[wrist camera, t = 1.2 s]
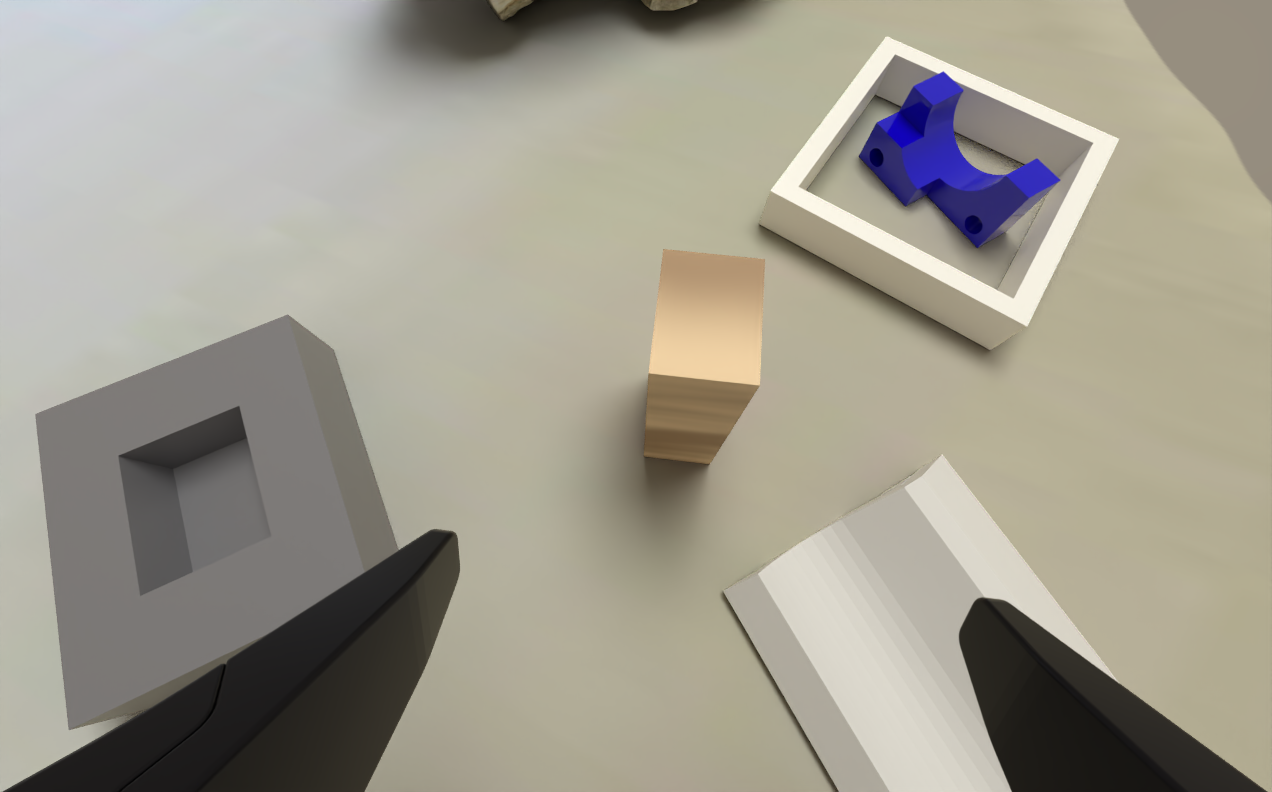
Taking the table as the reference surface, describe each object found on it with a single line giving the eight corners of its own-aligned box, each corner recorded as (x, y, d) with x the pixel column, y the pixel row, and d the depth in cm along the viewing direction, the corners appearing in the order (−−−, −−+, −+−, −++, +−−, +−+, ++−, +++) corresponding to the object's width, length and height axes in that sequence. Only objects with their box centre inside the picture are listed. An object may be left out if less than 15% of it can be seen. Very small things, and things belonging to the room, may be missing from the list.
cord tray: (990, 350, 25) (1027, 326, 23) (758, 224, 28) (770, 190, 25) (1079, 175, 29) (1119, 139, 26) (867, 77, 31) (886, 36, 29)
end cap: (409, 584, 22) (368, 585, 18) (161, 705, 20) (68, 730, 17) (333, 349, 25) (287, 314, 22) (118, 437, 24) (35, 413, 20)
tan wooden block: (709, 464, 23) (759, 385, 14) (643, 456, 23) (648, 373, 14) (715, 382, 25) (764, 259, 15) (653, 375, 25) (663, 249, 15)
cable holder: (857, 159, 29) (889, 97, 26) (904, 135, 30) (943, 71, 26) (953, 262, 27) (1004, 211, 23) (1002, 234, 28) (1060, 180, 24)
